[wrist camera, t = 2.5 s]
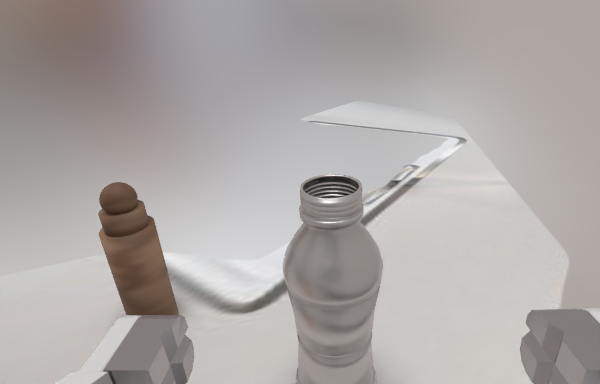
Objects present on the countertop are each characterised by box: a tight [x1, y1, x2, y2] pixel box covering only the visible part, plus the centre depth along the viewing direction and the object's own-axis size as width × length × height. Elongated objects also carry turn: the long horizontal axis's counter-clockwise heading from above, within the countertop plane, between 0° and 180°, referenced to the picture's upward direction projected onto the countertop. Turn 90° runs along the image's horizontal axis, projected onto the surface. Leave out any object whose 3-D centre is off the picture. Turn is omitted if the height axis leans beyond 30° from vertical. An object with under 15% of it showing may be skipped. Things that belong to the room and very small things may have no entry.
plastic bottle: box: [283, 174, 383, 384], centre depth 24 cm, size 6×7×20 cm
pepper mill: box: [99, 182, 178, 316], centre depth 35 cm, size 5×5×17 cm
